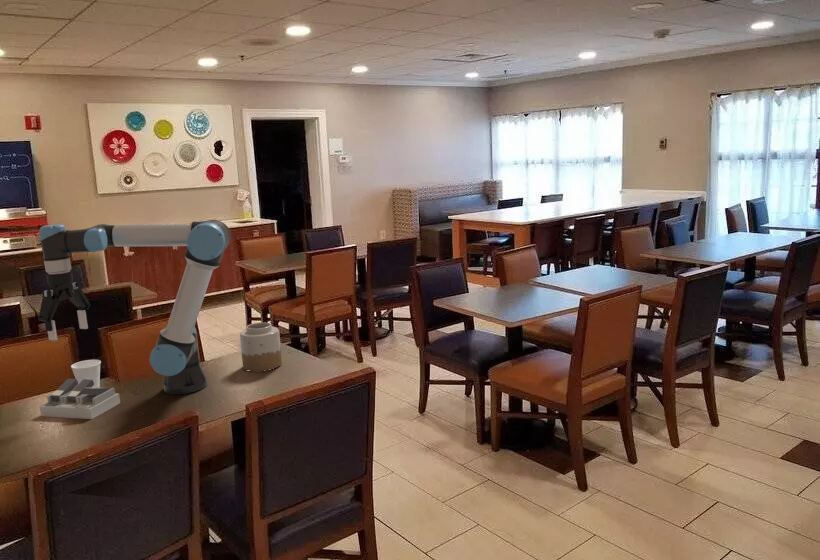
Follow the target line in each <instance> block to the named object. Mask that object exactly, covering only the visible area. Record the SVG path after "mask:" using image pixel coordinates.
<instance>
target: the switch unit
mask: <svg viewBox="0 0 820 560" xmlns="http://www.w3.org/2000/svg"><path fill="white" fill-rule="evenodd" d="M96 388H103V387H101V386H99V387H96ZM110 388H111V389H109V390H107V391H106V392H104V393H102V394H96V395H89V394H82V395H80V396H78V397H76V402H74V401H69V400H68V398H67V396H68V395H69V394H70V393H71V392H72V391H73V390H74V389H73V390H72V391H70V392H68V393H66V394H64V395H62V396H60V397H59V398H60V401H55V400H53V399H52V398H51V395H52V394H53V393H50V394H48V395H47V396H46V399H47V402H45V403H44V404H42V405H40V406H39V411H40V416H41V417H50V418H51V417H52V418H67V419H68V418H69V419H83V420H84V419H85V420H93V419H94V418H97V417H98V416H100V415H102V414H104V413H105V412H107V411H109V410H111V409H112V408H114V407H116V406H117V405H119V404H121V398H120V393H116V389H115V387H110Z"/></svg>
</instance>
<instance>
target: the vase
mask: <svg viewBox="0 0 820 560" xmlns="http://www.w3.org/2000/svg"><path fill="white" fill-rule="evenodd" d="M239 341H240V352H241V360H242V368H243V370H244V369H246V370H250V371H264V370H269V369H273V368H276V367H278V366H280V365H281V364H283V359H282V358H283V357H282V348H281V337H280V330H279V328H278V327H276V326H272V323H269V322H254V323H250V324H248V325H246V328H245V329H242V330H241V331H240V333H239ZM281 366H282V365H281ZM281 366H280V367H281ZM278 368H279V367H278ZM276 369H277V368H276ZM246 370H245V371H246ZM273 370H274V369H273ZM250 371H249V372H250ZM269 371H270V370H269ZM264 372H265V371H264Z"/></svg>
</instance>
